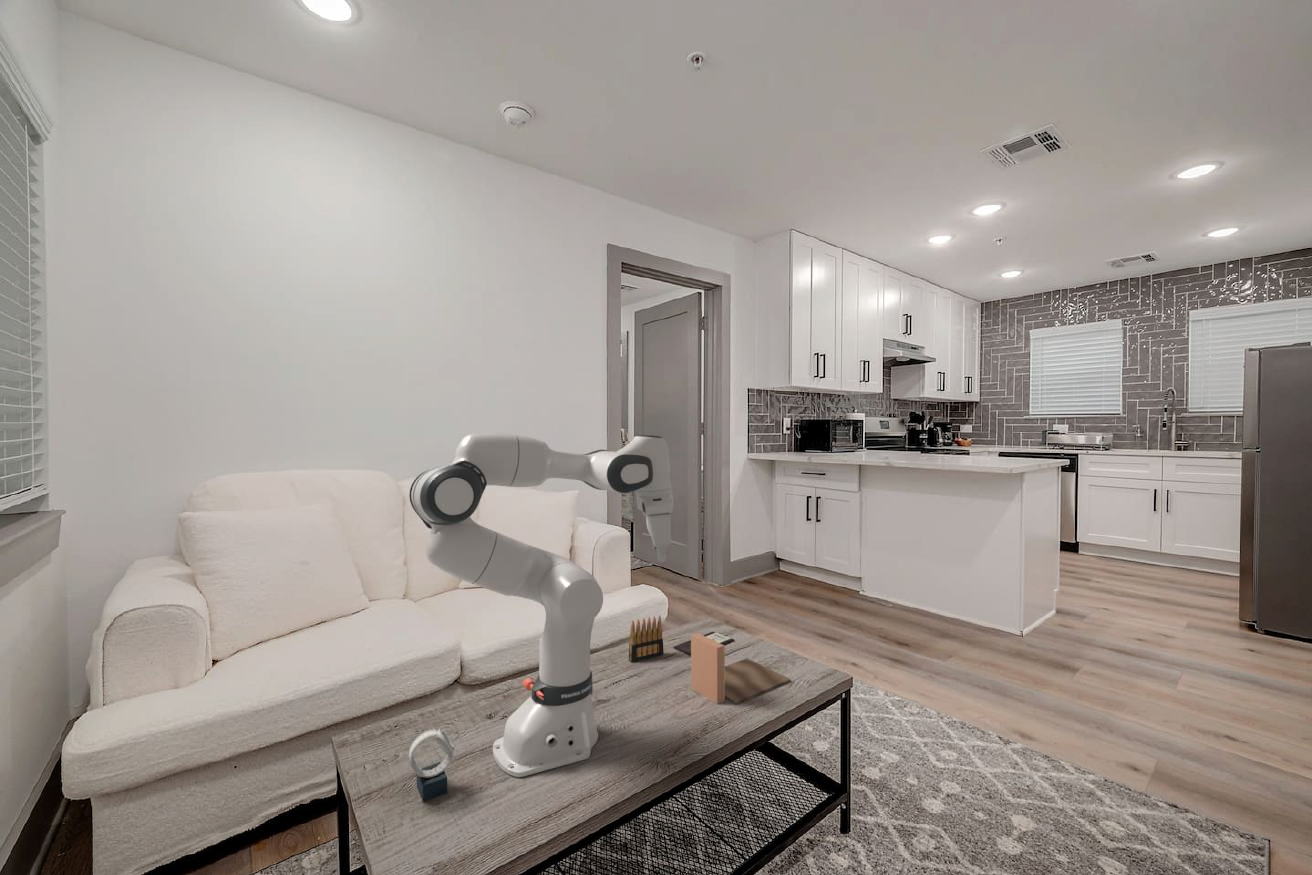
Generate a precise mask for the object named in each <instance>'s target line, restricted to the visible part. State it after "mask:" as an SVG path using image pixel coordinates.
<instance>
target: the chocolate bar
mask: <svg viewBox="0 0 1312 875" xmlns="http://www.w3.org/2000/svg"><path fill="white" fill-rule="evenodd" d="M702 635H703V636H705V637H707V638H709V639H711V640H713V641H716V642H718V643H720V644H722V645H724V646H726V645H728V644H731V643H733V642H735V639H734V638H731V637H729V636H726V635H723V634H721V633H719V632H715V631H710V632H708V633H706V634H702ZM672 648H673V650H677V651H679V652H680V653H683V654H685V655H687V656H690V657H691V639H690V640H687V641H685V642H682V643H678V644H677V645H674V646H673V647H672Z"/></svg>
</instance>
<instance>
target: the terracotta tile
mask: <svg viewBox="0 0 1312 875" xmlns="http://www.w3.org/2000/svg"><path fill="white" fill-rule="evenodd" d="M703 635H704V634H701V633H699V632H698V633H694V634H690V640H691V656H690V688H691V689H692V690H693V691H695V692H697V693H698V694H700V695H701V696H703V697H705V698H707V700H709V701H712V702H713V703H714V704H716V705H719V704H722V703H723V702H725V699H726V698H725V666H726V663H725V661H726V659H725V654H726V653H725V650H726V649H725V648H726V645H722V644H720V643H718V642H716V641H713V640H711V639H709V638H707V637H705V636H703Z"/></svg>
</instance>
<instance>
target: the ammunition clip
mask: <svg viewBox="0 0 1312 875" xmlns="http://www.w3.org/2000/svg"><path fill="white" fill-rule="evenodd" d="M651 620H652V622H651ZM646 621H647V622H646ZM662 626H663V625H662V618H661V615H660V614H659V615H658V617H657V619H656V616H655V615H654V616H653V618H652V619H651V618H650V617H648V618H647V620H646V619H645V618H644V617H643V618H642V621H641V623H640V619H639V618H638V619H637V620H636V625H635V620H634V619H633V620H631V622H630V634H629V643H628V644H629V645H628V646H629V648H628V650H629V651H628V661H629V663H631V664H632V663H637V662H641V661H646V660H648V659H649V660H650V659H654V658H659V657H663V656H664V639H663V627H662Z"/></svg>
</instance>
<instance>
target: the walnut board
mask: <svg viewBox="0 0 1312 875" xmlns="http://www.w3.org/2000/svg"><path fill="white" fill-rule="evenodd" d="M790 682H791V678H789V677H786V676H785V675H782V674H781V673H779V672H776V671H774V670H772V669H770V668H768V667H767V666H764V665H761V664H760V663H758V662H755V661H754V660H751V659H750V658H744V659H742V660H738V661H736V662H734V663H731V664H727V665H725V699H727V700H728V701H730V702H731V703H733V704H735V705H738V704H741V703H743V702H745V701H747V700H749V699H752V698H755V697H758V696H759V695H762V694H764V693H767V692H769V691H771V690H773V689H776V688H778V687H780V686H783V685H785V684H788V683H790Z"/></svg>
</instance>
